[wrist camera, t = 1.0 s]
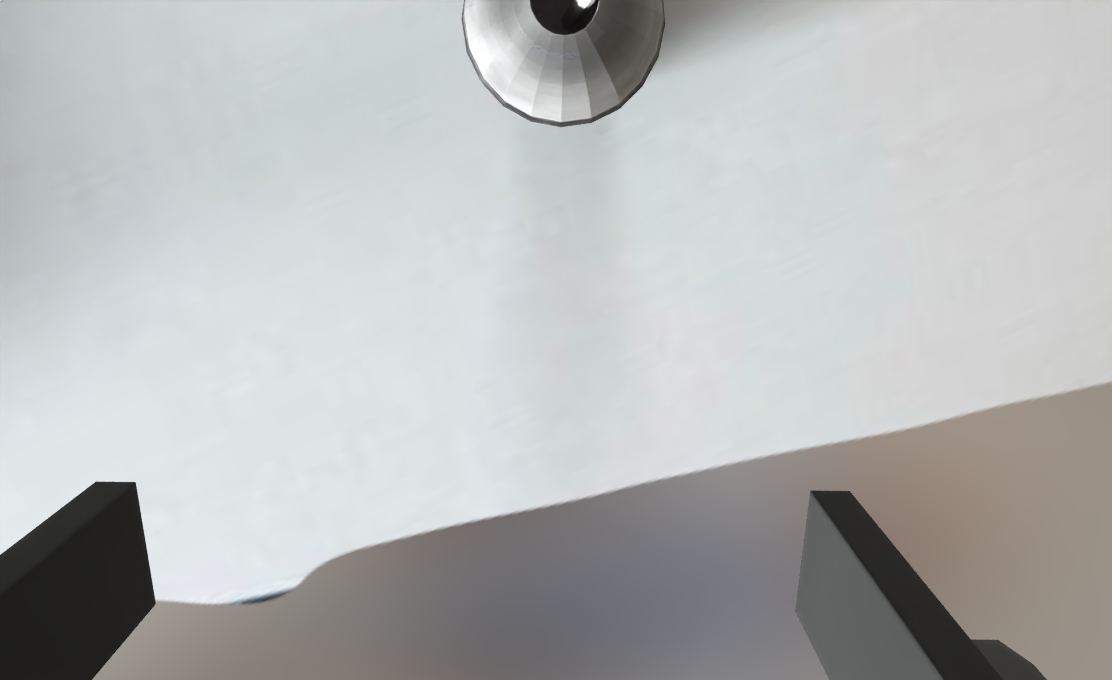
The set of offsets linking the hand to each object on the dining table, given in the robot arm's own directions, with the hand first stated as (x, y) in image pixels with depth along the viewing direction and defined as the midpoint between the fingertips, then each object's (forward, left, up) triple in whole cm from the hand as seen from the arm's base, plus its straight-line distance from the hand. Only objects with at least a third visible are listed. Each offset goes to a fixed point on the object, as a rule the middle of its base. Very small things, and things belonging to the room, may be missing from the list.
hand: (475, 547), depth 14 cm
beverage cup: (-4, +12, -27) cm, 29 cm away
